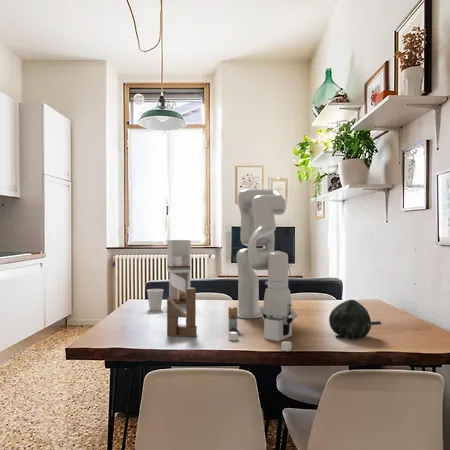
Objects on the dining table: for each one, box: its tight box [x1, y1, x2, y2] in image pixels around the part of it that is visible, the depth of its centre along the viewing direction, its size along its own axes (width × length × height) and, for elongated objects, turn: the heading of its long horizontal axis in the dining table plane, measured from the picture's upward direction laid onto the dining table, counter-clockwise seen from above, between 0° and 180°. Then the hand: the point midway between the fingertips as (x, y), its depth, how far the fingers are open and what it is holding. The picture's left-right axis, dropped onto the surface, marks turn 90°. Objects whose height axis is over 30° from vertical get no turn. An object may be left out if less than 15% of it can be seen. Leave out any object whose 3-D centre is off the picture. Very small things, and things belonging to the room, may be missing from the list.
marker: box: [280, 340, 292, 352], centre depth 139 cm, size 2×2×2 cm
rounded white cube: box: [228, 331, 239, 342], centre depth 152 cm, size 2×2×2 cm
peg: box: [228, 306, 238, 332], centre depth 167 cm, size 4×4×9 cm
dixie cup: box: [146, 288, 164, 312], centre depth 212 cm, size 8×8×10 cm
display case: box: [166, 239, 192, 307], centre depth 229 cm, size 11×11×35 cm
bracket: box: [371, 320, 382, 326], centre depth 184 cm, size 14×15×3 cm
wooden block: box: [166, 287, 198, 338], centre depth 159 cm, size 4×11×18 cm, turn 83°
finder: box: [263, 316, 293, 342], centre depth 156 cm, size 10×6×7 cm, turn 143°
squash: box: [328, 299, 372, 340], centre depth 157 cm, size 14×15×15 cm
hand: (278, 333), depth 156 cm, fingers closed on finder, 6 cm apart
